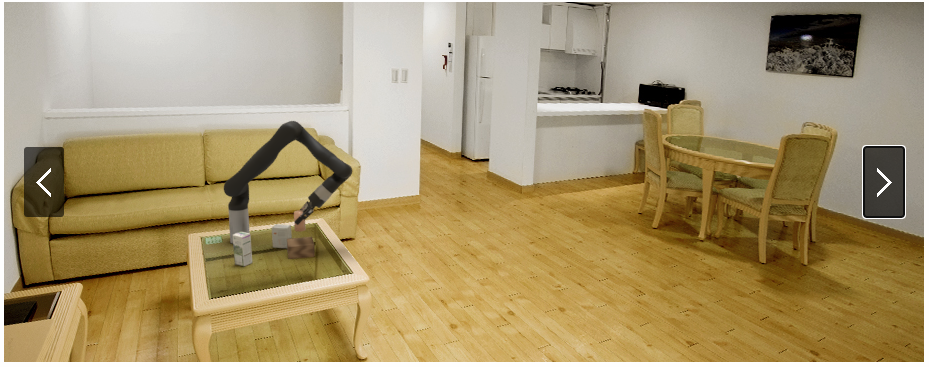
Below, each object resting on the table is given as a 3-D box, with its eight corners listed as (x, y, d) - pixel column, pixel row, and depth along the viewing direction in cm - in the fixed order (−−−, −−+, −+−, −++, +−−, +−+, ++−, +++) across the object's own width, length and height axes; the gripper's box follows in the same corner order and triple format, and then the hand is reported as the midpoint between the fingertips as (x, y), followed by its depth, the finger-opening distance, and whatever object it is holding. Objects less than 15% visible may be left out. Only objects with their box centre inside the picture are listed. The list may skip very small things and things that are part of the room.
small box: (292, 244, 308) (291, 224, 305) (288, 248, 303) (287, 228, 300) (276, 243, 309) (275, 223, 306) (272, 247, 303) (271, 227, 301)
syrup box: (252, 262, 283) (251, 232, 280) (243, 266, 278) (241, 236, 274) (243, 260, 285) (241, 230, 282) (234, 264, 280) (231, 234, 277)
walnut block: (288, 258, 289) (288, 246, 287) (287, 250, 300) (286, 238, 298) (314, 256, 293) (314, 244, 291) (312, 248, 304) (312, 236, 302)
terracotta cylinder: (294, 231, 290) (294, 213, 288) (294, 228, 295) (293, 210, 293) (305, 230, 292) (305, 212, 290) (305, 227, 296) (304, 209, 294)
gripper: (313, 187, 298) (288, 212, 297) (315, 194, 285) (290, 221, 284) (324, 197, 301) (300, 222, 300) (327, 204, 287) (302, 231, 287)
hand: (295, 221), depth 292 cm, fingers closed on terracotta cylinder, 5 cm apart
